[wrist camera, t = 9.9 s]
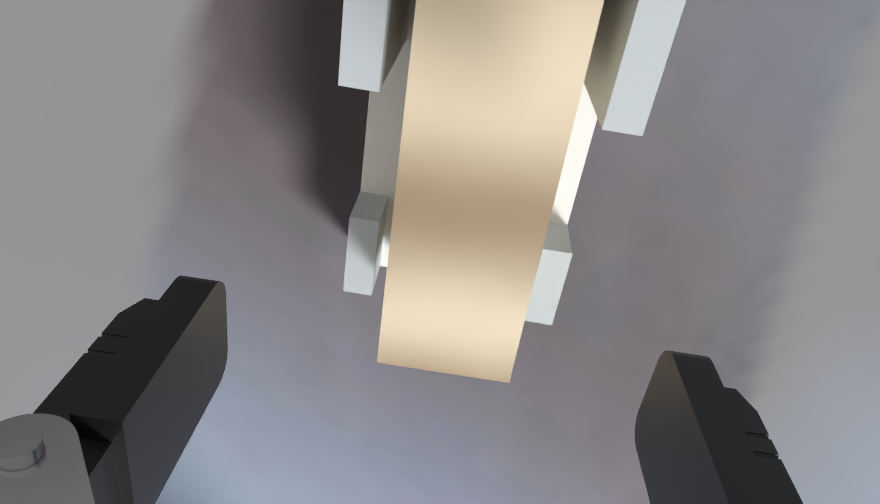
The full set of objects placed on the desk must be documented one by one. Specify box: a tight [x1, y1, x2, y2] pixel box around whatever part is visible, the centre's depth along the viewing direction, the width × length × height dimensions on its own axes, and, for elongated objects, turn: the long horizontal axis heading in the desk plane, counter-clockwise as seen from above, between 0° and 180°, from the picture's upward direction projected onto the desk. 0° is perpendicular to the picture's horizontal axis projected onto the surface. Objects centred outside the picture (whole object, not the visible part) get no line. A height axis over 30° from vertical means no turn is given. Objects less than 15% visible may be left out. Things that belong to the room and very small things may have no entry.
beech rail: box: [377, 0, 604, 383], centre depth 19 cm, size 11×4×6 cm, turn 172°
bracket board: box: [338, 0, 686, 325], centre depth 20 cm, size 13×8×6 cm, turn 172°
